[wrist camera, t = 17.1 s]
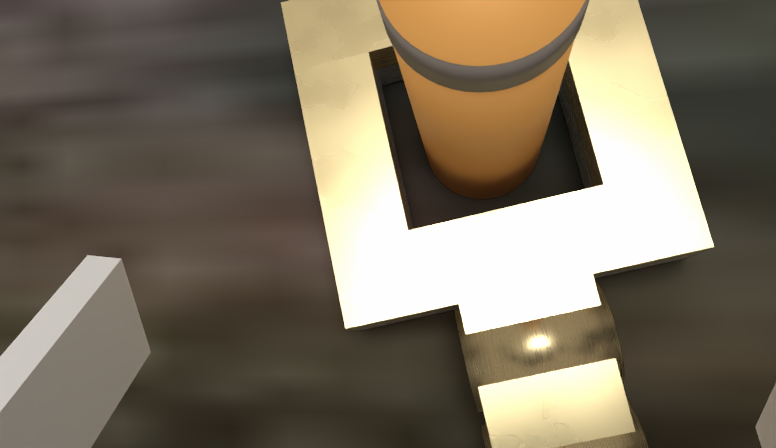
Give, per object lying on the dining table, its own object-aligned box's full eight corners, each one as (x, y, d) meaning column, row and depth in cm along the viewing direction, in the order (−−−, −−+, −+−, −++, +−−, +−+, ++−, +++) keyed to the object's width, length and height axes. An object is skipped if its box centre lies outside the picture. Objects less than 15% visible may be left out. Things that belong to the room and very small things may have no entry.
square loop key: (546, -200, 26) (555, -274, 23) (749, 477, 21) (795, 501, 18) (271, -120, 27) (243, -180, 24) (405, 542, 22) (392, 575, 19)
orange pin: (564, 123, 24) (642, -84, 12) (502, 222, 24) (521, 107, 12) (463, 68, 25) (446, -177, 13) (402, 163, 24) (328, 0, 13)
